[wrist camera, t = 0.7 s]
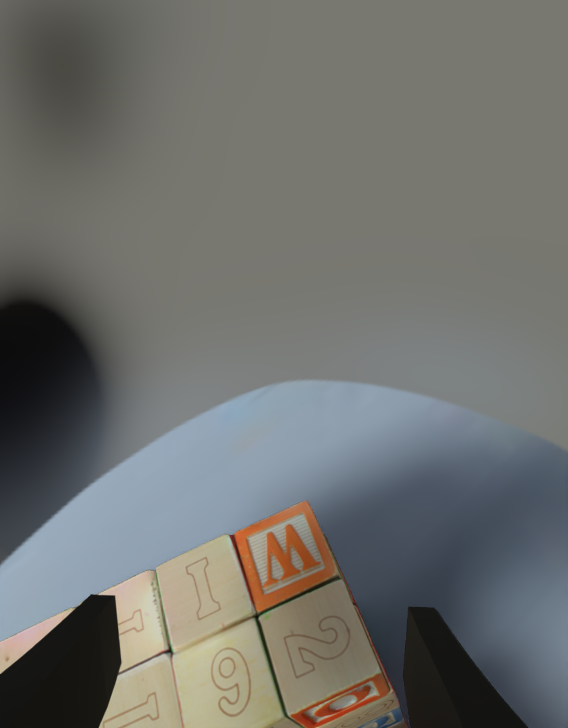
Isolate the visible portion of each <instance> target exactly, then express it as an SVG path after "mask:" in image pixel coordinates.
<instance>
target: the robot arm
mask: <svg viewBox="0 0 568 728" xmlns="http://www.w3.org/2000/svg"><path fill="white" fill-rule="evenodd" d="M121 664H122V661H121V650H120V640H119V629H118V619H117V608H116V598H115V595H92V594H91V595H90V596H89V597H88V598H87V599H86V600H84V601H83V602H82V603H81V604H80V605H79V606H78V607H77V608H75V609H74V610H73V611H72V612H71V613H70V614H69V615H68V616H67V617H66V618H64V619H63V620H62V621H61V622H60V623H59V624H58V625H57V626H56V627H54V628H53V629H52V630H51V631H50V632H49V633H48V634H47V635H46V636H44V637H43V638H42V639H41V640H40V641H39V642H38V643H36V644H35V645H34V646H33V647H32V648H31V649H30V650H28V651H27V652H26V653H25V654H24V655H23V656H22V657H20V658H19V659H18V660H17V661H16V662H14V663H13V664H12V665H11V666H9V667H8V668H7V669H6V670H4V671H3V672H2V673H1V674H0V728H99V726H100V724H101V721H102V719H103V717H104V715H105V712H106V710H107V708H108V705H109V702H110V699H111V696H112V693H113V690H114V686H115V683H116V680H117V677H118V673H119V670H120V667H121ZM403 678H404V686H405V693H406V700H407V707H408V713H409V720H410V725H411V728H528V727H527V726H526V724H525V723H524V722H523V721H522V720H521V719H520V718H519V717H518V716H517V714H516V713H515V712H514V711H513V710H512V709H511V708H510V706H509V705H508V704H507V703H506V702H505V701H504V699H503V698H502V697H501V696H500V695H499V693H498V692H497V691H496V690H495V689H494V687H493V686H492V685H491V684H490V682H489V681H488V680H487V679H486V677H485V676H484V675H483V673H482V672H481V671H480V670H479V668H478V667H477V666H476V665H475V663H474V662H473V661H472V659H471V658H470V657H469V655H468V654H467V653H466V651H465V650H464V648H463V647H462V646H461V644H460V643H459V642H458V640H457V639H456V637H455V636H454V634H453V633H452V632H451V630H450V629H449V627H448V626H447V624H446V623H445V621H444V620H443V618H442V617H441V615H440V614H439V612H438V611H437V610H436V609H435V608H428V607H408V620H407V632H406V645H405V658H404V671H403Z"/></svg>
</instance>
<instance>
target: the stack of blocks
mask: <svg viewBox="0 0 568 728" xmlns="http://www.w3.org/2000/svg"><path fill="white" fill-rule="evenodd" d="M96 595H115V598H116V608H117V619H118V629H119V640H120V650H121V661H122V664H121V667H120V670H119V673H118V677H117V680H116V683H115V686H114V690H113V693H112V696H111V699H110V702H109V705H108V708H107V710H106V712H105V715H104V717H103V719H102V721H101V724H100V726H99V728H408V725H407V723H406V721H405V719H404V716H403V714H402V712H401V709H400V703H399V700H398V698H397V696H396V693H395V691H394V689H393V686H392V684H391V682H390V680H389V678H388V676H387V674H386V671H385V669H384V667H383V664H382V662H381V660H380V657H379V655H378V653H377V651H376V649H375V647H374V644H373V642H372V640H371V637H370V635H369V632H368V630H367V628H366V625H365V623H364V621H363V618H362V616H361V614H360V611H359V609H358V606H357V604H356V602H355V600H354V597H353V595H352V593H351V591H350V589H349V586H348V584H347V582H346V580H345V578H344V576H343V573H342V571H341V569H340V567H339V565H338V563H337V560H336V558H335V556H334V554H333V552H332V549H331V547H330V545H329V543H328V540H327V538H326V536H325V534H323V532H322V530H321V528H320V525H319V523H318V521H317V519H316V517H315V515H314V512H313V510H312V508H311V506H310V504H309V502H308V501H307V500H305V501H302V502H300V503H298V504H296V505H293V506H291V507H289V508H287V509H285V510H283V511H281V512H279V513H276V514H274V515H272V516H270V517H268V518H265V519H263V520H261V521H258V522H256V523H255V524H252V525H250V526H248V527H246V528H244V529H241V530H239V531H237V532H236V533H235V534H234V535H229V534H223V535H222V536H220V537H218V538H216V539H213V540H211V541H209V542H207V543H204V544H203V545H201V546H199V547H197V548H195V549H192V550H190V551H188V552H186V553H184V554H182V555H179V556H177V557H175V558H173V559H171V560H169V561H167V562H165V563H163V564H161V565H159V566H158V567H157V568H156V571H154V570H146V571H144V572H142V573H140V574H138V575H135V576H133V577H131V578H129V579H128V580H126V581H123V582H121V583H119V584H117V585H115V586H113V587H111V588H109V589H107V590H105V591H103V592H101V593H98V594H96ZM81 603H82V602H81ZM81 603H80V604H81ZM80 604H79V605H80ZM79 605H78V606H79ZM78 606H77V607H78ZM77 607H74V608H70V609H67V610H65V611H63V612H61V613H59V614H57V615H55V616H53V617H50V618H48V619H46V620H44V621H42V622H40V623H38V624H36V625H34V626H32V627H29V628H27V629H25V630H23V631H21V632H19V633H17V634H15V635H13V636H11V637H9V638H7V639H5V640H3V641H1V642H0V674H1V673H2V672H3V671H4V670H6V669H7V668H8V667H9V666H11V665H12V664H13V663H14V662H16V661H17V660H18V659H19V658H20V657H22V656H23V655H24V654H25V653H26V652H27V651H28V650H30V649H31V648H32V647H33V646H34V645H35V644H36V643H38V642H39V641H40V640H41V639H42V638H43V637H44V636H46V635H47V634H48V633H49V632H50V631H51V630H52V629H53V628H54V627H56V626H57V625H58V624H59V623H60V622H61V621H62V620H63V619H64V618H66V617H67V616H68V615H69V614H70V613H71V612H72V611H73V610H74V609H75V608H77Z"/></svg>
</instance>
